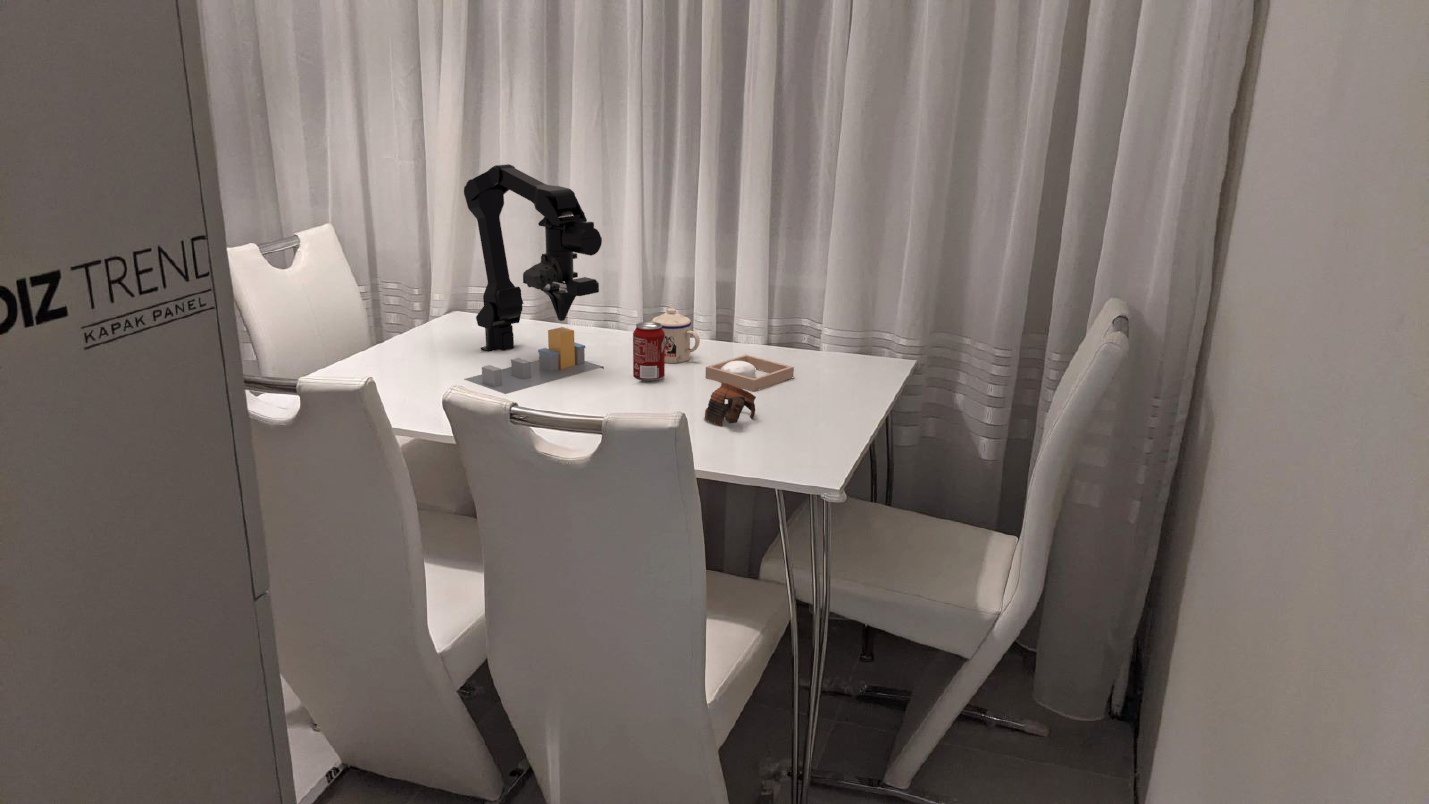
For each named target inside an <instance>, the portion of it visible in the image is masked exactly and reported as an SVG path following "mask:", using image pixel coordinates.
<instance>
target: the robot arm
mask: <svg viewBox="0 0 1429 804" xmlns="http://www.w3.org/2000/svg"><path fill="white" fill-rule="evenodd" d="M509 191H511V192H513V193H514V194H517V195H518V196H521V197H522V198H524V199H526V200H528V201H530V202H531V203H532V204H533V205H534V209H535V210H536V211H537V212H538V213H539V214H540V215H542V216H543V218H542V219H541V220H539V222H538V226H539V227H542V228H543V227H544V229H545V233H544V234H545V253H542V254H541V256H540V262H538V263H535V264H534V265H532V266H531V267H530V268H528V269H525V271H524V272H523V273H522V283H523V284H526V285H527V287H528V288H532V289H533V288H534V289H536V290H540V291H541V292H543V293H545V295H547V296H548V298H549V299H550V301H551V305H552V306H553V307H552V308H553V309H554V312H555V315H556V317H557V320H558V321H560V322H563V321H565V319H566V318H567V315H568V313H569V311H570V309H571V306H572V304H573V303H574V301H575V299H576V297H584V296H588V295H592V294H597V293H598V294H599V292H600V283H599V281H597V279H595V278H591V277H586V276H582V277H578V276H579V275H578V274H579V273H578V271H577V272H576V271H574V260H575V259H578V254H579V255H584V256H590V257H591V256H592V257H593V256H594V255H597V254H598V252H599V250H600V249H601V247H602V242H603V239H602V236H601V233H600V231H599V230H598V229H597V228H596V227H595V223H594V221H587V220H588V219H587V217H586V215H585V214H586V213H585V212H584V211H583V209H582V207H581V205H580V203H579V201H578V198H577V196H576V193H575V192H574V191H573V190H572V189H571V188H569V187H563V186H561V185H560V186H559V185H550V184H546V183H544V182H542V181H541V180H538V179H537V178H534V177H533V176H530V175H528V174H527V173H525V172H523V171H521V170H519V169H517V168H516V166H514V165H511V164H508V163H507V164H497V165H493V166H492V167H490V168H489V169H488V170H487V171H485V172H482V173H481V174H479V175H477V176H475V177H474V178H470V179H469V180H467V181H466V184H465V186H463V195H464V199H465V202H466V205H467V206H466V207H467V209H468V210H469V212H471V214H472V215H473V216H474V218H475V219H476V221H477V226H478V232H479V239H480V244H481V245H480V246H481V250H482V256H483V262H484V267H485V273H486V274H485V275H486V279H487V284H486V286H485V287H486V288H485V290H484V293H483V297H482V299H483V306H482V308H481V309H480V311H479V312H478V313H477V314H476V316H475V320H476V323H477V326H478V327H480V328H481V327H482V328H483V329H484V330H485V333H484V334H485V346H482V347H480V350H481V351H485V352H487V353H490V352H494V351H498V350H499V351H508V350H513V349H515V341H514V328H513V327H514V326H513V325H514V324H519V323H520V319H521V315H522V312H523V305H524V301H523V297H522V289H521V288H520V286H515V284H514V283H513V282H512V281H511V278H510V273H509V267H508V261H507V254H506V250H505V243H504V238H503V229H502V224H501V213H502V211H503V207H504V206H505V197H504V195H505V194H506V193H508V192H509Z"/></svg>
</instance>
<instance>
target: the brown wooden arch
mask: <svg viewBox="0 0 1429 804" xmlns="http://www.w3.org/2000/svg"><path fill="white" fill-rule="evenodd" d="M756 398H757V396H755V395H754V394H753V393H751V392H749V391H748V390H746V389H743V388H739V387H736V386H734V385H731V384H728V383H722V382H721V385H720V386H719V388H717V389H715V390H714V391H712V392H711V395H710V398H709V400H708V404H707V408H705V411H704V420H706V421H708V422H710V424H711V423H712V424H713V425H717V426H719V427H722V426H723V422H724V420H725V421H726V422H728V423H729V424H736V423H738V421H739V419H740V417H741V413H742V411H743V409H744V408H745V407H746V408H747V409H748V410H749V411H750V416H749V417H750V419H754V417H755V415H756V404H755V400H756ZM726 400H727V403H726Z"/></svg>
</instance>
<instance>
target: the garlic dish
mask: <svg viewBox="0 0 1429 804" xmlns="http://www.w3.org/2000/svg"><path fill="white" fill-rule="evenodd" d="M731 361H745V362H748V363H750V364H752V365H753V366H754V367H755V368H756V369H755V370H757V369H760V370H759V371H761V370H763V371H762V372H764V371H766V373H767V374H763V375H761V376H758V377H754V379H753V378H749V377H746V376H742V375H739V374H735V373H731V372H728V371H724V370H721V368H722V367H723V366H724V365H725V364H727V363H729V362H731ZM794 368H795V366H792V365H789V364H784V363H780V362H776V361H772V360H769V359H764V358H761V357H757V356H753V355H750V354H742V355H740V356H736V357H734V358H730V359H727V360H724V361H723V360H722V361H720V362H717V363H714V364H711V365H708V366H705V379H708V380H712V381H715V382H718V383H721V384H722V383H728V384H731V385H734V386H736V387H740V388H741V389H743V388H744V389H743V390H746V389H747V390H746V391H750V392H757V391H760V390H763V389H765V387H766V388H768V386H769V387H771V386H770V385H772V386H773V385H774V386H775V385H778V384H781V383H783V382H786V381H788V380H787V379H789V380H791V379H790V378H792V377H793V378H794V373H795V371H794ZM768 372H769V373H768ZM793 378H792V379H793ZM785 380H786V381H785ZM762 388H763V389H762ZM759 389H760V390H759Z"/></svg>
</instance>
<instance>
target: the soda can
mask: <svg viewBox="0 0 1429 804" xmlns="http://www.w3.org/2000/svg"><path fill="white" fill-rule="evenodd" d="M661 327H662V324H660V323H657V322H652V321H641V322H638V323H636V325H635V329H634V330H633V332H632V376H633V378H634V379H636V380H639V381H641V382H643V383H654V382H659V381H661V379H663V378H664V377H665V376H666V375H665V371H666V370H665V367H666V366H665V364H666V363H665V333H664V331H663V329H662V328H661Z"/></svg>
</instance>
